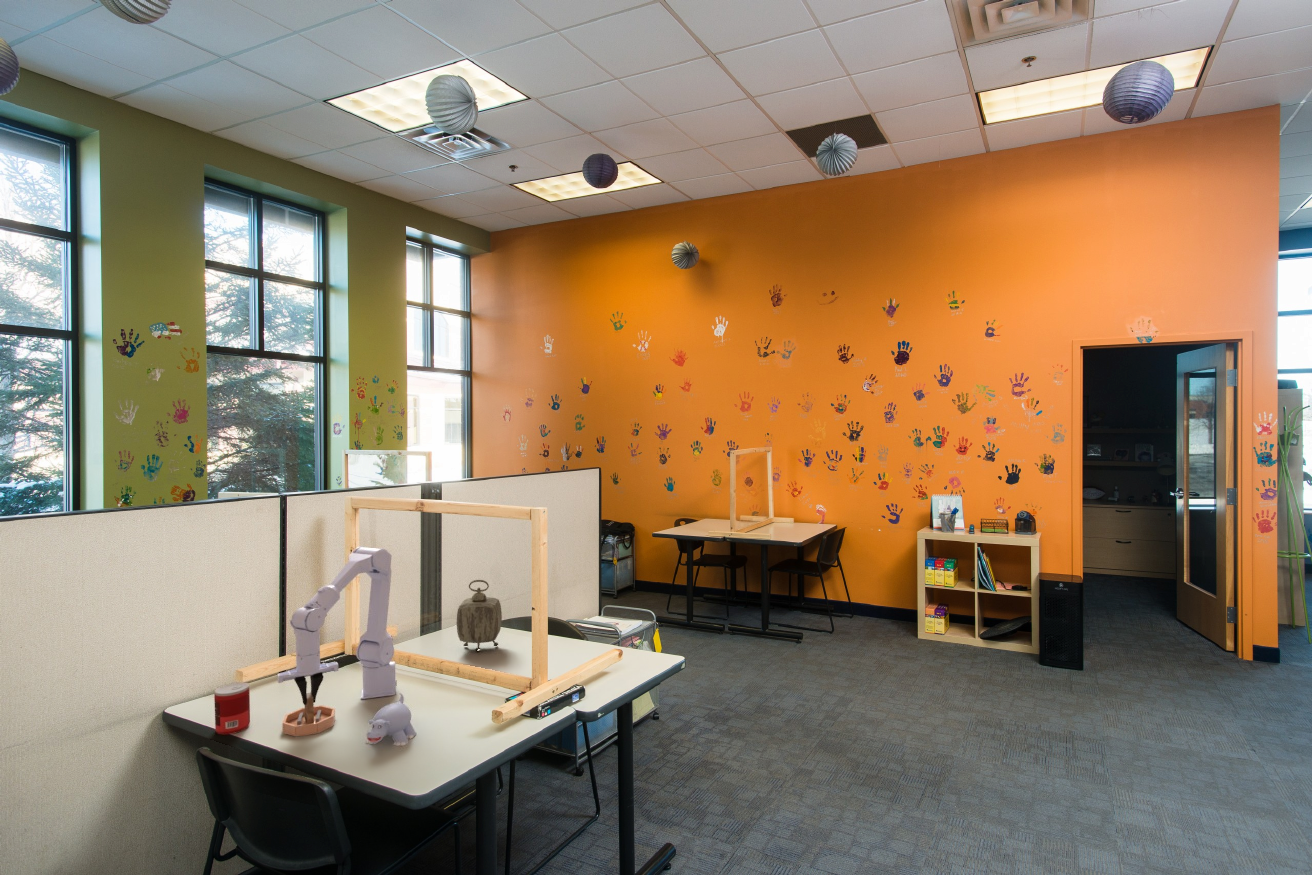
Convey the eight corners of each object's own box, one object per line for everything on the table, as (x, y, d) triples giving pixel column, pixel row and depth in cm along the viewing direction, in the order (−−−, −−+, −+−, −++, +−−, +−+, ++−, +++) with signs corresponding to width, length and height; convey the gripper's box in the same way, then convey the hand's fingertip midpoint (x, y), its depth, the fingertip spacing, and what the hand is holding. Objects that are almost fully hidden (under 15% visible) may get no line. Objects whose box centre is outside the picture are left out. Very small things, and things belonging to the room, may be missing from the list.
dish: (336, 712, 194) (336, 703, 194) (332, 731, 183) (332, 721, 183) (287, 719, 190) (287, 709, 190) (280, 738, 179) (280, 728, 179)
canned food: (256, 724, 187) (255, 683, 187) (230, 737, 180) (229, 695, 179) (235, 720, 190) (234, 680, 189) (208, 732, 182) (207, 691, 182)
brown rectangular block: (310, 717, 188) (310, 692, 188) (313, 722, 185) (313, 697, 185) (304, 719, 188) (304, 693, 187) (307, 724, 184) (307, 698, 184)
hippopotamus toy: (352, 754, 171) (351, 716, 170) (384, 727, 185) (383, 691, 185) (393, 757, 169) (392, 718, 169) (422, 729, 184) (421, 694, 184)
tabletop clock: (502, 645, 250) (501, 576, 250) (497, 654, 241) (496, 582, 240) (461, 646, 250) (460, 577, 249) (455, 654, 241) (454, 583, 240)
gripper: (333, 643, 193) (334, 691, 194) (275, 653, 185) (276, 704, 185) (339, 649, 188) (340, 699, 188) (279, 661, 179) (280, 713, 180)
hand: (309, 702), depth 186 cm, fingers closed on brown rectangular block, 1 cm apart
